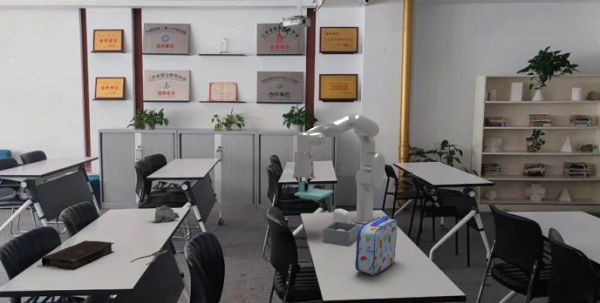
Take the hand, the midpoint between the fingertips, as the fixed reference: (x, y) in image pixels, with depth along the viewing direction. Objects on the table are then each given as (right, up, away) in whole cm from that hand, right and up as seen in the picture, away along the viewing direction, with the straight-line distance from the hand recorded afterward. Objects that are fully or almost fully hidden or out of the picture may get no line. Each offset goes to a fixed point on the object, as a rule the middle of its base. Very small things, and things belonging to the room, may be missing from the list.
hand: (303, 189), depth 243 cm
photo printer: (+21, -24, +9) cm, 33 cm away
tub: (+20, -25, -7) cm, 33 cm away
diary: (-102, -29, -36) cm, 112 cm away
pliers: (-71, -29, -33) cm, 84 cm away
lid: (+6, -3, -2) cm, 7 cm away
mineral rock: (-82, -22, +27) cm, 89 cm away
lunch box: (+31, -30, -46) cm, 63 cm away
